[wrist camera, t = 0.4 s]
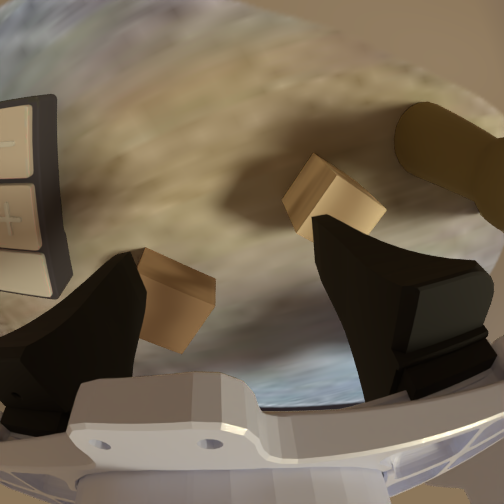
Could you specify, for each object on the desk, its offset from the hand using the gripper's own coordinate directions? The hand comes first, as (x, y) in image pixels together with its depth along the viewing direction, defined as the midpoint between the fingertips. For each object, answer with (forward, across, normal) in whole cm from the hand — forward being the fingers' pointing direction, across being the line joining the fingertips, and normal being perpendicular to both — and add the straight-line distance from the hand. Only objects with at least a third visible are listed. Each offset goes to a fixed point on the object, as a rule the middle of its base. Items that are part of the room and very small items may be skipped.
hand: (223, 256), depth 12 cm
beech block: (+10, -6, +2) cm, 12 cm away
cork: (+10, -15, -1) cm, 19 cm away
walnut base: (+10, +7, +8) cm, 15 cm away
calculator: (+11, +17, -3) cm, 21 cm away
